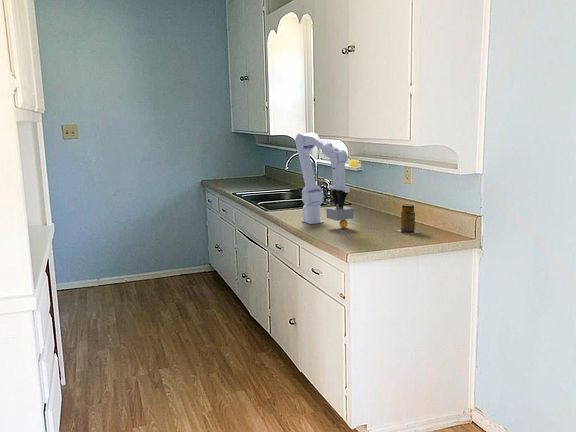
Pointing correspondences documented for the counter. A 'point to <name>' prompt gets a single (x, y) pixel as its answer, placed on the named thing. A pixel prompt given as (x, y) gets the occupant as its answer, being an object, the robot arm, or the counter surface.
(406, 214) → the condiment
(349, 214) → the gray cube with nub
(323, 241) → the counter surface
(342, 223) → the ball
